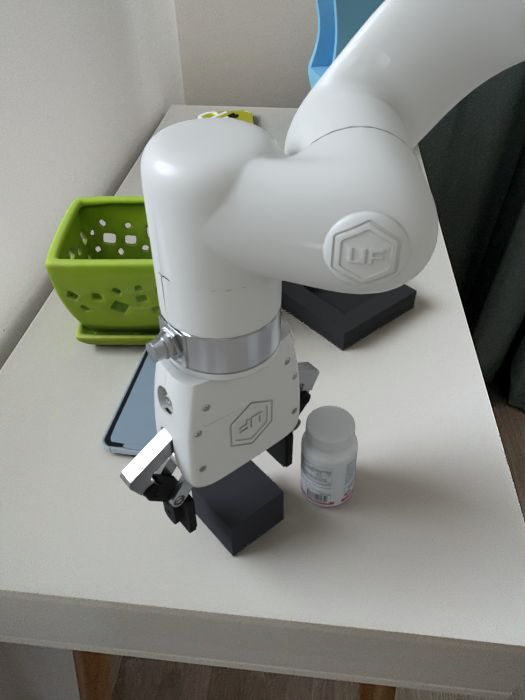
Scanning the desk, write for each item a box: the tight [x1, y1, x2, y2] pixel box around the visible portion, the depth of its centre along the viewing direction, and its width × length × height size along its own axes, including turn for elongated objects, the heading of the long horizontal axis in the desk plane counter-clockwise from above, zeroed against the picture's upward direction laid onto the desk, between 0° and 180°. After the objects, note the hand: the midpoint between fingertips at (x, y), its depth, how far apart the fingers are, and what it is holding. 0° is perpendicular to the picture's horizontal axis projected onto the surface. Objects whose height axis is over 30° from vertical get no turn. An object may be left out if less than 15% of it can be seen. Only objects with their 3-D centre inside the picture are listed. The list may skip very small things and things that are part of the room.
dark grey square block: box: [190, 459, 285, 557], centre depth 53 cm, size 6×6×4 cm
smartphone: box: [101, 348, 157, 457], centre depth 64 cm, size 7×1×15 cm
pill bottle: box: [299, 405, 359, 508], centre depth 53 cm, size 5×5×8 cm
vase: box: [307, 0, 385, 91], centre depth 102 cm, size 10×10×25 cm
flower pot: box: [44, 195, 160, 346], centre depth 70 cm, size 14×14×13 cm
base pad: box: [281, 280, 418, 351], centre depth 75 cm, size 12×12×2 cm
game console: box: [195, 109, 254, 124], centre depth 114 cm, size 18×11×2 cm, turn 5°
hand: (231, 486), depth 51 cm, fingers open, 9 cm apart
